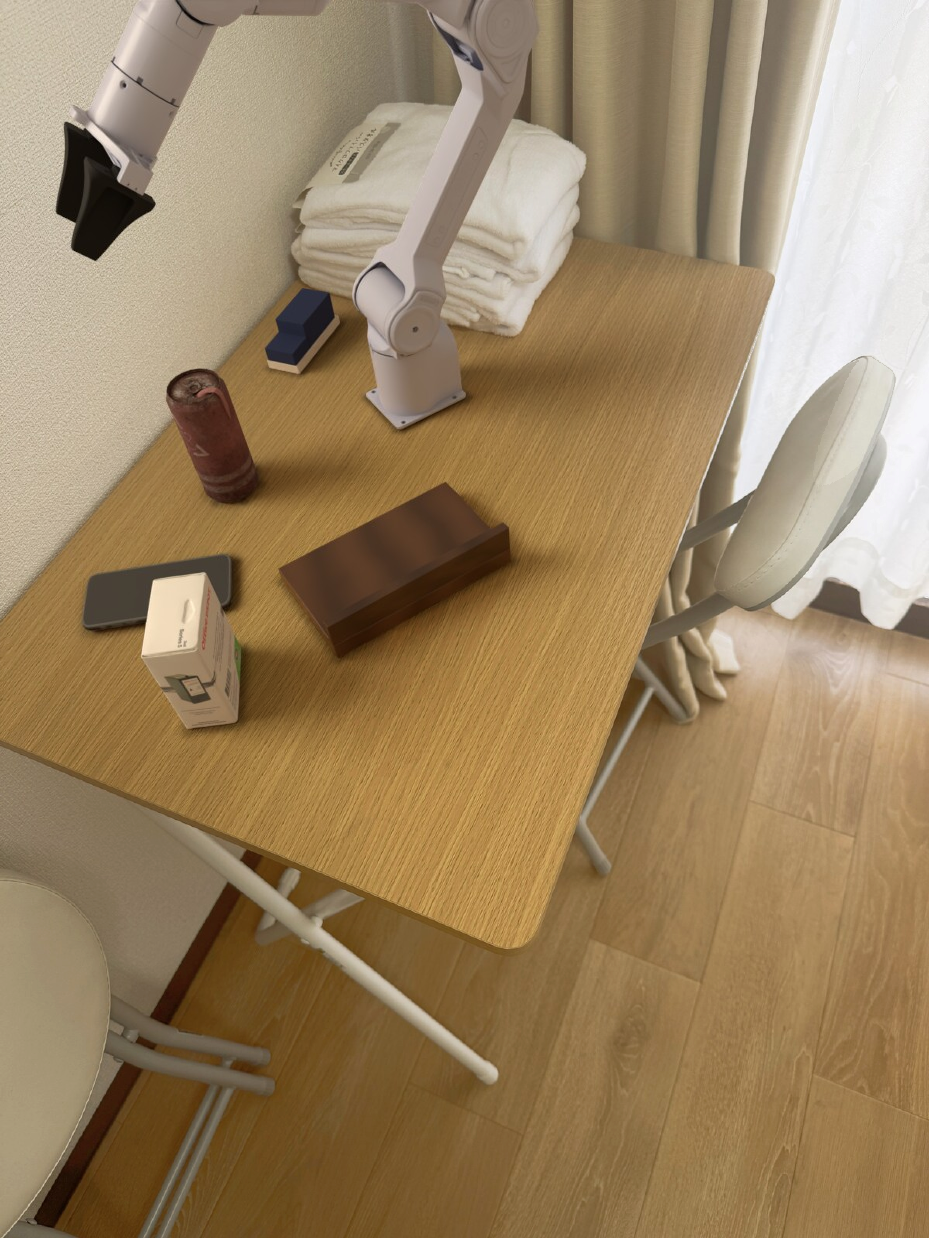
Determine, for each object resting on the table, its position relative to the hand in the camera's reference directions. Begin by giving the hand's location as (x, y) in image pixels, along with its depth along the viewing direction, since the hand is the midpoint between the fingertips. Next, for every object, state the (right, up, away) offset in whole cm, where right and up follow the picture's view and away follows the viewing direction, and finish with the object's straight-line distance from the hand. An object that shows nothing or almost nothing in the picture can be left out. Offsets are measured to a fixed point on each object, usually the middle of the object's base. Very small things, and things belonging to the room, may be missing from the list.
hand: (75, 236), depth 78 cm
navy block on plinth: (+13, +2, +39) cm, 41 cm away
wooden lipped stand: (+26, -28, +15) cm, 41 cm away
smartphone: (+2, -30, +16) cm, 34 cm away
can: (+7, -18, +25) cm, 31 cm away
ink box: (+10, -39, +8) cm, 41 cm away
